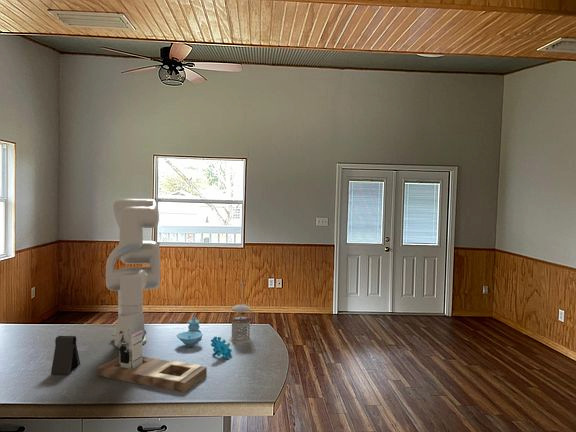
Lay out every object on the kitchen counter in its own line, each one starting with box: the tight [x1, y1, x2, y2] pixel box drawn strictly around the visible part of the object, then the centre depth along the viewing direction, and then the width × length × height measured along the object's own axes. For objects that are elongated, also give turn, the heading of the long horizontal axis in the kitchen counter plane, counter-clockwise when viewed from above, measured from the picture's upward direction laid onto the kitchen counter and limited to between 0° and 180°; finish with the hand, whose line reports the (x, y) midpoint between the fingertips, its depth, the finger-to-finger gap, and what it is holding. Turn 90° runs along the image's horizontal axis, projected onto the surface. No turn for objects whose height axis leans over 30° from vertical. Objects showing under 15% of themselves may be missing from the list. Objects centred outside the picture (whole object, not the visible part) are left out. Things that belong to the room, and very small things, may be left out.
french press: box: [228, 282, 255, 344], centre depth 195 cm, size 10×12×25 cm
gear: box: [210, 336, 233, 360], centre depth 175 cm, size 11×6×10 cm
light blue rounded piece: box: [176, 316, 204, 348], centre depth 190 cm, size 18×10×9 cm, turn 1°
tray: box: [97, 356, 208, 393], centre depth 155 cm, size 34×14×3 cm, turn 71°
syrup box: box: [118, 330, 143, 369], centre depth 158 cm, size 6×6×14 cm
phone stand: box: [50, 335, 81, 376], centre depth 158 cm, size 9×6×12 cm, turn 179°
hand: (131, 359), depth 158 cm, fingers closed on syrup box, 5 cm apart
